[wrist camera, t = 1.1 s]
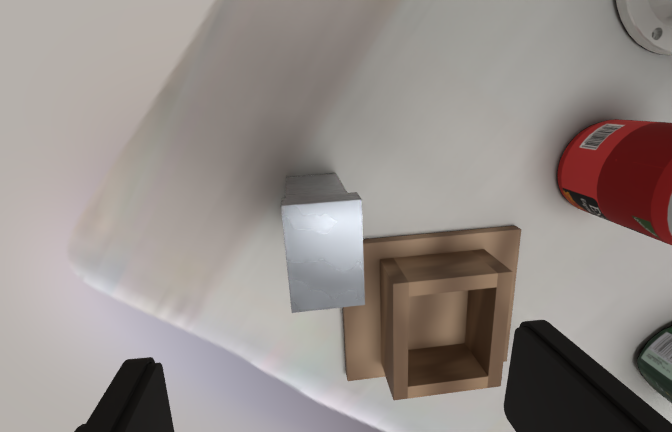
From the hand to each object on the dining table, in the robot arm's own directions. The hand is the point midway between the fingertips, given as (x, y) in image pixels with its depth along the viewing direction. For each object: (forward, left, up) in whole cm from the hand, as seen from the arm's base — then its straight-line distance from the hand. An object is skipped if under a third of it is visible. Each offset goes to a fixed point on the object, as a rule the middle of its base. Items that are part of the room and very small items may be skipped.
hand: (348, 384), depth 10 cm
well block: (-10, +12, -22) cm, 27 cm away
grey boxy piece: (0, +1, -22) cm, 22 cm away
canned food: (-25, 0, -22) cm, 33 cm away
